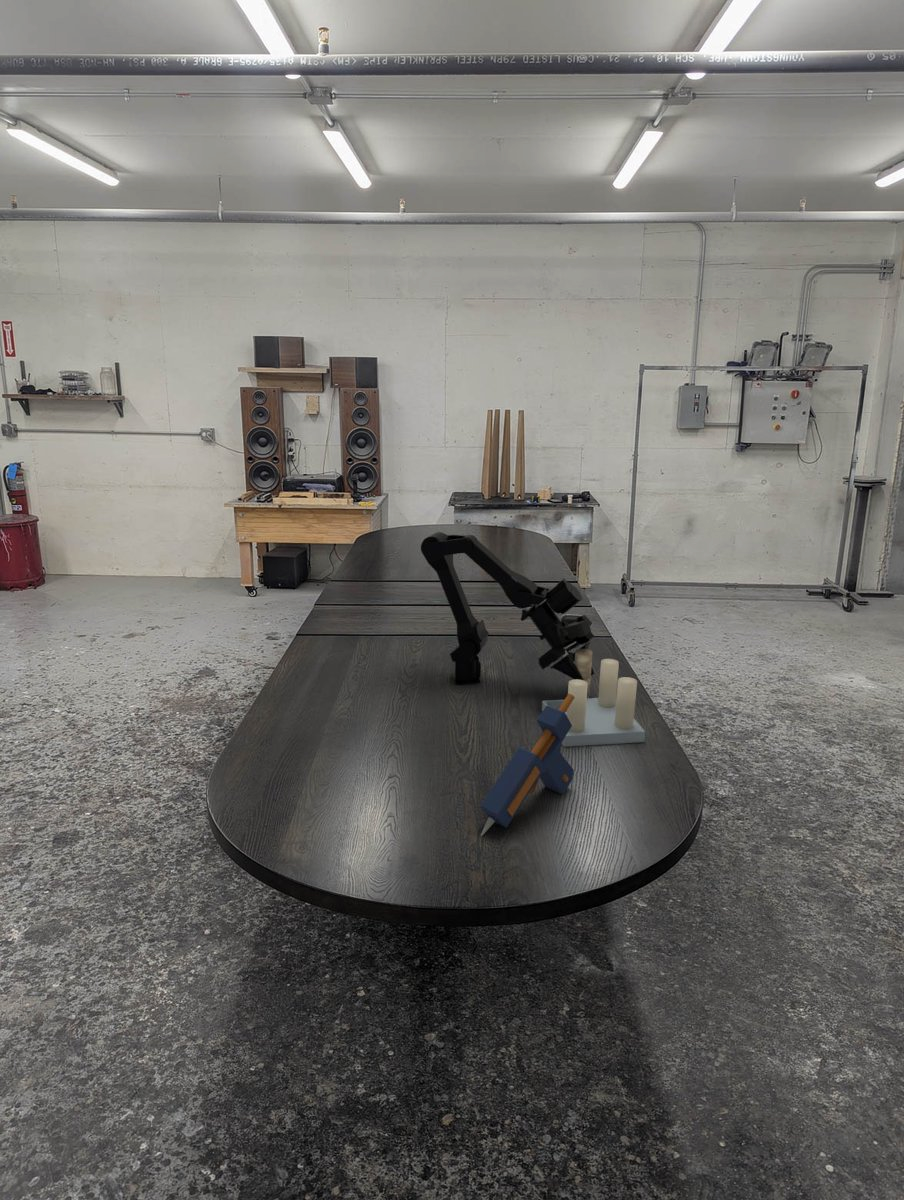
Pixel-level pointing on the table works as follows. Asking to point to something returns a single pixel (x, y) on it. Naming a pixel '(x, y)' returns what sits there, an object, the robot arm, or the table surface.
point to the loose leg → (584, 665)
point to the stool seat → (602, 710)
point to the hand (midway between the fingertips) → (587, 678)
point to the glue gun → (532, 768)
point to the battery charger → (570, 619)
